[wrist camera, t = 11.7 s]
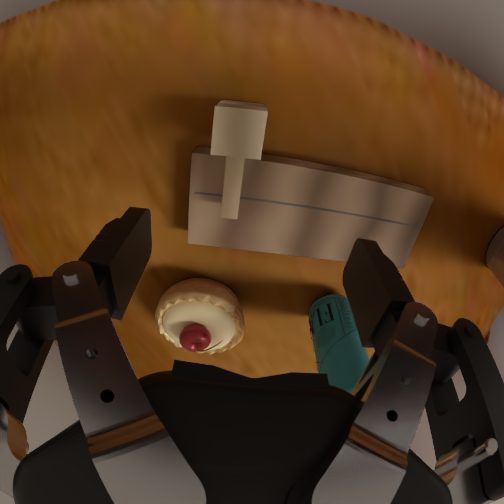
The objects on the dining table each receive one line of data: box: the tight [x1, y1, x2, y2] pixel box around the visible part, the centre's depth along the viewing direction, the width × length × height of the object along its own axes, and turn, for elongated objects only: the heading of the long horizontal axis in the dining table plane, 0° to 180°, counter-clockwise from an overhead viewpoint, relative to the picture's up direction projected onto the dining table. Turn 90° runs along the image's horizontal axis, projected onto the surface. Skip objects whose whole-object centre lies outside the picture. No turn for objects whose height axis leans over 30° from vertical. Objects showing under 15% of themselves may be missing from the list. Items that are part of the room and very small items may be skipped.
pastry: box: [155, 277, 245, 354], centre depth 36 cm, size 12×12×9 cm
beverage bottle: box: [308, 295, 369, 393], centre depth 31 cm, size 6×7×20 cm
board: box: [188, 147, 434, 268], centre depth 30 cm, size 26×10×2 cm, turn 82°
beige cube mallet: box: [210, 100, 268, 219], centre depth 25 cm, size 4×10×6 cm, turn 173°
